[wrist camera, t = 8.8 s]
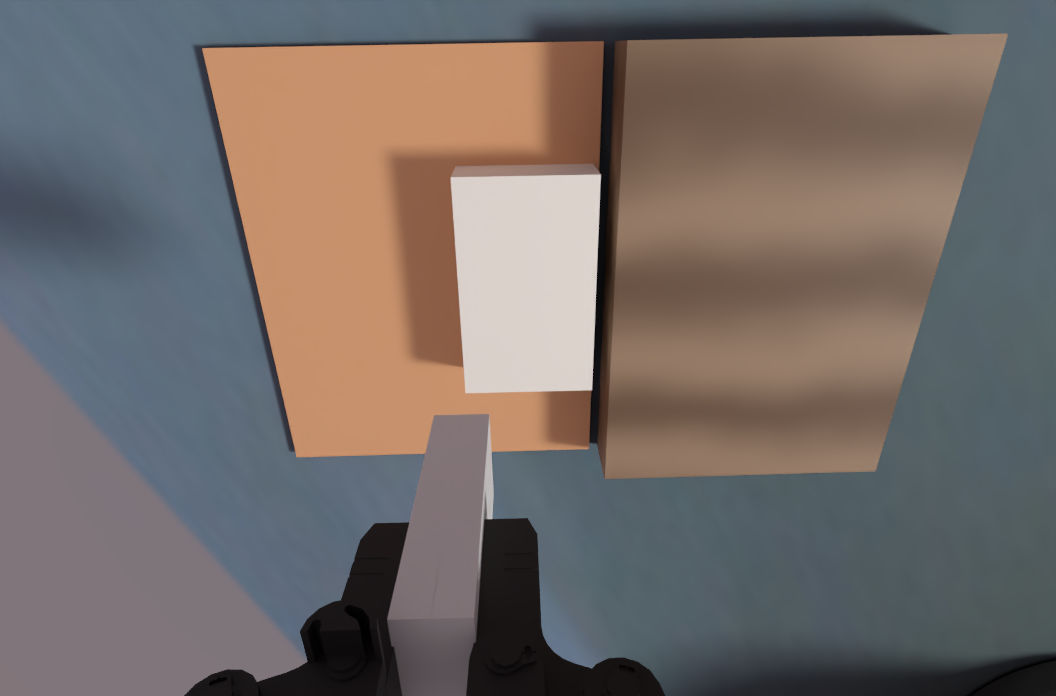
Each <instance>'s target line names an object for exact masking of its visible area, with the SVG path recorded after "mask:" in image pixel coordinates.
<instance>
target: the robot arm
mask: <svg viewBox="0 0 1056 696" xmlns="http://www.w3.org/2000/svg"><path fill="white" fill-rule="evenodd" d="M493 495H494V493H493V474H492V454H491V435H490V416H489V414H466V415H434V418H433V422H432V426H431V431H430V435H429V440H428V444H427V448H426V453H425V457H424V461H423V466H422V470H421V474H420V479H419V483H418V487H417V492H416V496H415V500H414V505H413V509H412V513H411V518H410V522H409V523H375V524H374V525H373V526H372V527H371V528H370V530H369V531H368V532H367V533H366V534H365V535H364V536H363V538H362V539H361V540H360V543H359V546H358V549H357V552H356V555H355V561H354V562H353V565H352V568H351V571H350V577H349V578H348V580H347V583H346V586H345V590H344V593H343V596H342V599H341V601H335V602H332V603H330V604H328V605H326V606H324V607H322V608H320V609H318V610H317V611H316V612H315V613H314V614H313V615H311V616H310V617H309V618H308V619H307V621H306V622H305V624H304V626H303V627H302V629H301V631H300V634H301V637H302V641H303V645H304V649H305V653H306V656H307V660H308V662H306V663H305V664H303V665H302V666H300V667H299V668H296V669H294V670H291V671H289V672H287V673H284V674H281V675H278V676H274V677H271V678H268V679H265V680H262V681H259V682H256V680H255V678H254V677H253V675H251V674H249V673H247V672H245V671H243V670H224V671H221V672H218V673H215V674H212V675H210V676H208V677H207V678H205V679H203V680H202V681H200V682H199V683H197V684H195V685H194V686H193V688H191V690H189V692H188V693H187V694H186V695H185V696H665V694H664V692H663V690H662V688H661V686H660V684H659V682H658V681H657V679H656V678H655V677H654V675H653V674H652V672H651V671H650V670H649V669H647V668H646V667H644V666H643V665H641V664H640V663H638V662H637V661H633V660H630V659H626V658H608V659H606V660H604V661H602V662H600V663H598V664H596V665H595V666H594V667H593V668H592V669H591V668H588V667H584V666H581V665H578V664H574V663H572V662H569V661H567V660H565V659H563V658H561V657H560V656H558V655H557V654H556V653H554V652H553V650H552V649H551V648H550V647H549V646H548V645H547V643H546V641H545V639H544V637H543V633H542V628H541V611H540V587H539V564H538V541H537V533H536V531H535V530H534V528H533V526H532V525H531V523H530V522H529V520H528V518H521V519H492V514H493ZM972 696H1056V661H1051V662H1046V663H1042V664H1038V665H1035V666H1031V667H1028V668H1025V669H1022V670H1019V671H1017V672H1014V673H1012V674H1009V675H1007V676H1005V677H1003V678H1000V679H998V680H996V681H995V682H993V683H991V684H989V685H987V686H986V687H984V688H982V689H981V690H979V691H978V692H976V693H975V694H974V695H972Z"/></svg>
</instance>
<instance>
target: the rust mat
mask: <svg viewBox="0 0 1056 696" xmlns="http://www.w3.org/2000/svg"><path fill="white" fill-rule="evenodd" d="M202 50H203V55H204V59H205V63H206V67H207V72H208V76H209V80H210V85H211V89H212V93H213V98H214V102H215V106H216V111H217V115H218V119H219V124H220V128H221V132H222V137H223V141H224V145H225V150H226V154H227V158H228V162H229V167H230V171H231V175H232V180H233V184H234V188H235V193H236V197H237V201H238V206H239V210H240V214H241V219H242V223H243V227H244V232H245V236H246V240H247V244H248V249H249V253H250V257H251V262H252V266H253V270H254V275H255V279H256V283H257V288H258V292H259V296H260V301H261V305H262V309H263V314H264V318H265V322H266V327H267V331H268V335H269V339H270V344H271V348H272V352H273V357H274V361H275V365H276V370H277V374H278V378H279V383H280V387H281V391H282V396H283V400H284V404H285V409H286V413H287V417H288V421H289V426H290V430H291V434H292V439H293V443H294V447H295V452H296V456H297V457H321V456H357V455H392V454H425V453H426V448H427V444H428V440H429V435H430V431H431V426H432V422H433V418H434V415H466V414H489V416H490V435H491V452H498V451H533V450H569V449H589V437H590V409H591V390H583V391H542V392H500V393H465V380H464V365H463V351H462V336H461V322H460V307H459V293H458V278H457V264H456V249H455V235H454V220H453V206H452V191H451V175H452V173H453V171H454V169H455V166H489V165H546V164H594V165H595V167H596V168H597V170H598V171H599V162H600V135H601V107H602V80H603V52H604V41H582V42H525V43H467V44H410V45H353V46H296V47H239V48H202Z"/></svg>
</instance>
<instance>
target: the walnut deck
mask: <svg viewBox="0 0 1056 696" xmlns="http://www.w3.org/2000/svg"><path fill="white" fill-rule="evenodd" d="M1007 36H1008V34H958V35H901V36H844V37H787V38H729V39H672V40H624V41H615V47H614V70H613V93H612V116H611V139H610V162H609V185H608V208H607V231H606V254H605V277H604V299H603V322H602V345H601V368H600V391H599V414H598V437H597V446H598V450H599V455H600V460H601V464H602V469H603V473H604V478H605V479H622V478H656V477H691V476H725V475H759V474H794V473H828V472H862V471H876V468H877V464H878V461H879V458H880V455H881V451H882V448H883V445H884V441H885V438H886V435H887V432H888V428H889V425H890V422H891V418H892V415H893V412H894V408H895V405H896V402H897V399H898V395H899V392H900V389H901V385H902V382H903V379H904V376H905V372H906V369H907V366H908V362H909V359H910V356H911V352H912V349H913V346H914V343H915V339H916V336H917V333H918V329H919V326H920V323H921V320H922V316H923V313H924V310H925V306H926V303H927V300H928V296H929V293H930V290H931V287H932V283H933V280H934V277H935V273H936V270H937V267H938V264H939V260H940V257H941V254H942V250H943V247H944V244H945V240H946V237H947V234H948V231H949V227H950V224H951V221H952V217H953V214H954V211H955V208H956V204H957V201H958V198H959V194H960V191H961V188H962V184H963V181H964V178H965V175H966V171H967V168H968V165H969V161H970V158H971V155H972V152H973V148H974V145H975V142H976V138H977V135H978V132H979V128H980V125H981V122H982V119H983V115H984V112H985V109H986V105H987V102H988V99H989V96H990V92H991V89H992V86H993V82H994V79H995V76H996V72H997V69H998V66H999V63H1000V59H1001V56H1002V53H1003V49H1004V46H1005V43H1006V40H1007Z"/></svg>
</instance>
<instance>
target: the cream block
mask: <svg viewBox="0 0 1056 696" xmlns="http://www.w3.org/2000/svg"><path fill="white" fill-rule="evenodd" d="M600 185H601V174H600V173H599V171H598V170H597V168H596V167H595V165H594V164H546V165H489V166H455V169H454V171H453V173H452V175H451V191H452V206H453V220H454V235H455V249H456V264H457V278H458V293H459V307H460V322H461V336H462V351H463V365H464V380H465V393H500V392H542V391H583V390H592V381H593V357H594V332H595V308H596V283H597V259H598V234H599V209H600Z"/></svg>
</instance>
